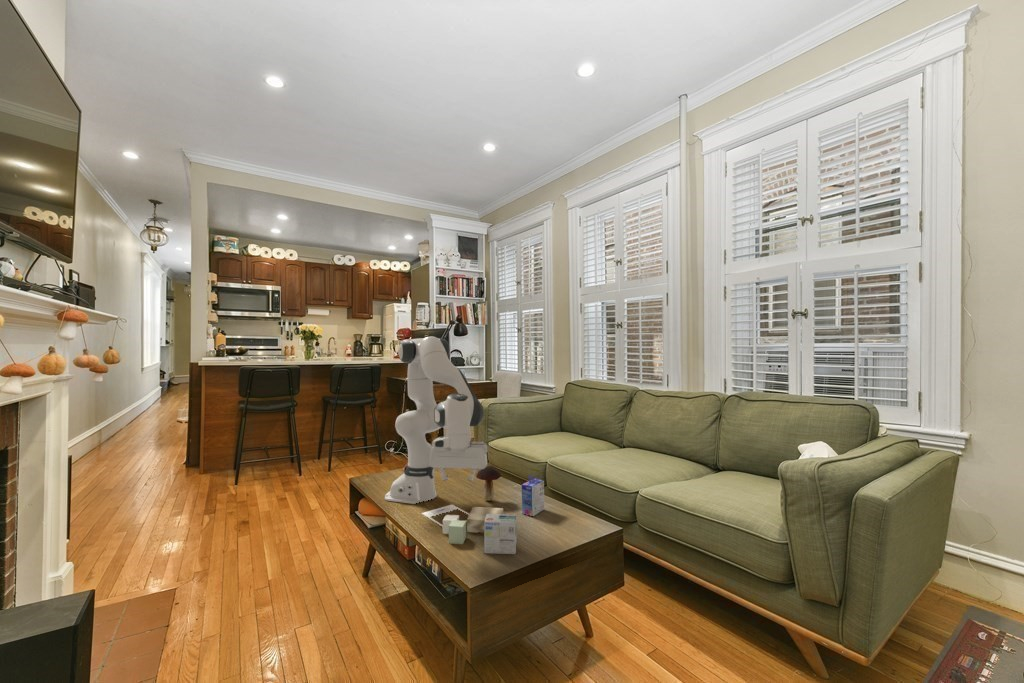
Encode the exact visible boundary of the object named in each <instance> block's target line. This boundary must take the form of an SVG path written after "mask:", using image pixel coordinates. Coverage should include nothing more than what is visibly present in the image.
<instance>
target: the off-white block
mask: <svg viewBox="0 0 1024 683" xmlns="http://www.w3.org/2000/svg"><path fill="white" fill-rule="evenodd" d="M452 520H460V515H458V514H445V516H444V517H443V519H442V525H443V527H442V535H443V534H444V535H449V525H450V523H451V521H452Z"/></svg>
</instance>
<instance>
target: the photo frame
mask: <svg viewBox="0 0 1024 683" xmlns="http://www.w3.org/2000/svg"><path fill="white" fill-rule="evenodd" d="M457 509H458V510H457ZM453 510H455V511H459V510H460V512H461V511H462V512H461V513H463V512H464V513H463V514H465V513H466V514H465V515H467V514H468V515H467V516H469V514H470V512H467V511H465V510H464V509H461V508H460V507H458V506H455V505H454V504H448V505H445V506H442V507H438V508H434V509H431V510H428V511H425V512H424V511H423V512H421V515H422V514H423V515H424V516H423V515H422V516H423V517H425V516H426V517H425V518H427V517H428V518H429V519H428V518H427V519H428V520H430V519H431V520H432V522H433V521H434V522H433V523H435V524H436V523H437V524H436V525H438V524H439V525H438V526H440V527H441V526H442V527H441V528H443V523H440V522H438V521H437V520H435V519H434V518H433V517H432V516H434V517H437V516H436V515H438V516H440V515H439V514H441V515H443V514H442V513H445V514H447V513H446V512H448V513H451V512H454V511H453ZM450 511H451V512H450ZM431 520H430V521H431ZM465 521H466V523H467V519H466V520H465Z"/></svg>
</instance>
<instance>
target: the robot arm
mask: <svg viewBox="0 0 1024 683" xmlns="http://www.w3.org/2000/svg"><path fill="white" fill-rule="evenodd" d="M397 353H398V358H399V360H400V361H401V362H402V363H404V364H408V365H407V396H408V398H409V399H410V400H412V401H413V402H414V404H415V406H416V410H415V409H414V410H409V411H406V412H404V413H401V414H399V415H398V416H397V417H396V419H395V424H394V428H395V431H396V433H397V434H398V435H399V436H400V437H402V438H403V439H404V442H405V444H406V446H407V456H408V457H407V463H406V464H405V465H404V467H403V468H402V469H403V470H402V471H403V474H401V475H400V476H399V477H397V478H396V479H395V480H394V481H393V482H392V483H391V486H390V491H388V492H387V493H386V494H385V495H384V500H385V501H387V502H393V503H394V502H396V503H402V504H403V503H404V504H411V505H417V504H419V502H420V503H423V501H424V502H428V500H429V501H431V499H432V500H434V499H435V498H436V497H437V496H438V495H437V491H436V487H435V486H436V485H435V469H438V470H439V473H440V474H441V476H442V478H441V480H442V481H448V474H447V473H446V472H445V469H471V472H472V474H470V475H469V476H468V482H474V480H475V475H476V474H477V471H478V470H481V469H484V468H485V467H487V465H488V455H487V454H488V444H487V443H485V442H484V441H482V440H481V441H476V440H474V441H473V440H472V430H471V427H477V426H479V424H480V423H481V422H482V420H483V419H484V416H485V410H484V406H483V404H482V403H481V401H479V399H478V398H477V396H476V395H475V393H474V391H473V389H472V387H471V386H470V384H469V382H468V380H467V378H466V376H465V375H464V373H463V371H462V370H461V369H460V368H458V367H457V366H455V365H454V364H453V363H452V361H451V360H450V359H449V356H450V344H449V342H448V341H447V339H445V338H441V337H436V336H427V337H423V338H422V337H421V338H419V337H418V338H412V339H411V338H406V339H403V340H401V342H399V345H398V350H397ZM433 382H436V383H441V384H445V385H449V386H450V387H452V388H453V389H455V390H456V392H457V393H451V394H449V395H448V396H447V397H446V399H445V400H444V401H441V402H439V403H437V402H436V399H435V395H434V384H433ZM441 428H443V429H445V435H443V436H438V437H437V438H434V439H433V441H432V442H431V443H429V442H428V441H427V439H426V434H429V433H432V432H433V433H434V432H436V431H437V430H440V429H441ZM416 503H417V504H416Z"/></svg>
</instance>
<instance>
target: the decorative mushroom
mask: <svg viewBox="0 0 1024 683" xmlns="http://www.w3.org/2000/svg"><path fill="white" fill-rule="evenodd" d="M475 475H476V476H475V477H476V479H479V480H480V481H484V482H485V483H484V488H483V498H484V500H485V501H486V502H491V501H493V499H494V493H495V491H494V483H493V481H496V480H498V479H500V478H501V477H502V474H501V472H500V471H499V470H498V469H497V468H495V467H493V466H490V465H489V466H486V467H485V468H484V469H479V470H478V472H476V474H475Z"/></svg>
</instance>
